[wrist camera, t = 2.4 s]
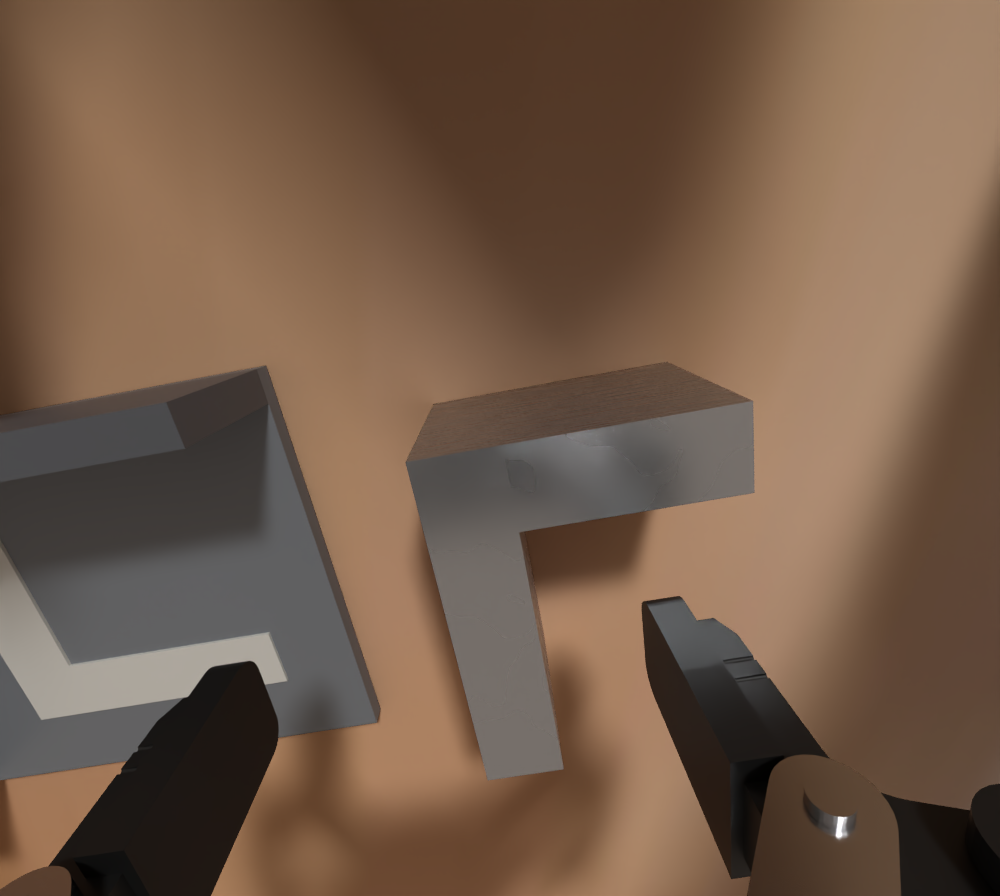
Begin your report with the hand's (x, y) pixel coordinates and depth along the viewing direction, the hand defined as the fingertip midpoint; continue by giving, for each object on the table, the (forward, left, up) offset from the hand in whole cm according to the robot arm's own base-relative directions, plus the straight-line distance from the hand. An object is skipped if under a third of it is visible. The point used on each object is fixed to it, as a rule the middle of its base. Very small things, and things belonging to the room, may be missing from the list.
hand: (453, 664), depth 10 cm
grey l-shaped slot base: (+13, 0, -6) cm, 14 cm away
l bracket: (-3, 0, -6) cm, 7 cm away
